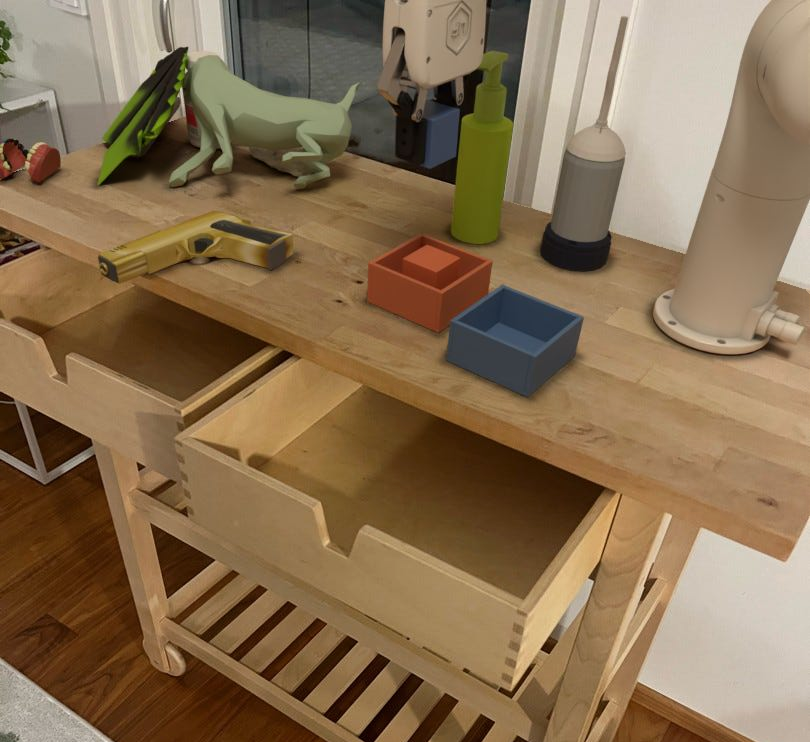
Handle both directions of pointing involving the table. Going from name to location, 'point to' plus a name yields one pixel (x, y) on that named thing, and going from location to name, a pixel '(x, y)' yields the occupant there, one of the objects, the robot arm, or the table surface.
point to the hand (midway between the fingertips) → (425, 151)
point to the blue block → (439, 133)
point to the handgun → (197, 246)
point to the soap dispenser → (483, 159)
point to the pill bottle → (190, 115)
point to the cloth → (145, 111)
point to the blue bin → (513, 339)
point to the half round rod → (175, 108)
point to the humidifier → (587, 188)
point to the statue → (261, 122)
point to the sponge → (280, 160)
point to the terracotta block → (432, 267)
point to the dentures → (28, 159)
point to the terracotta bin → (420, 298)
